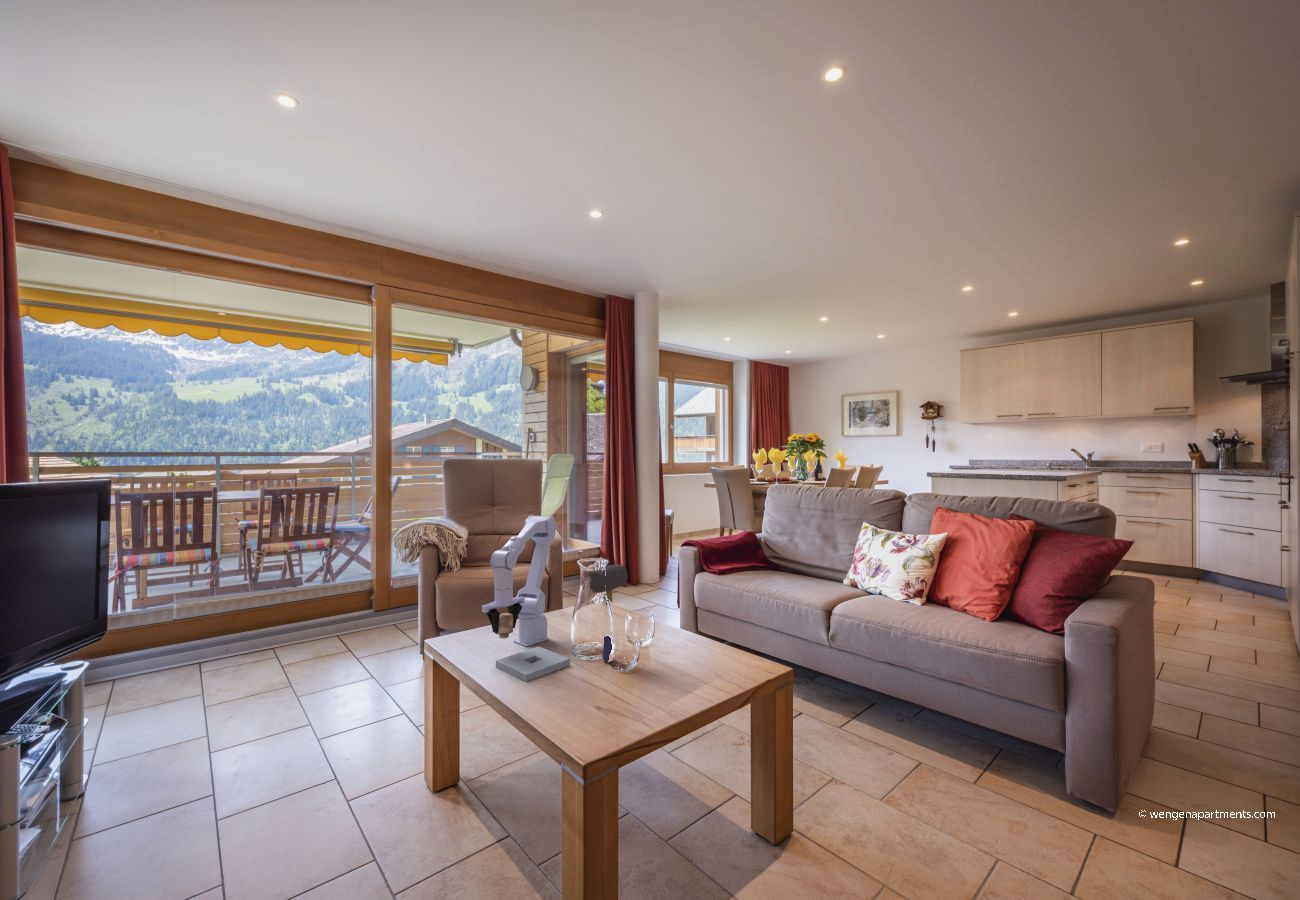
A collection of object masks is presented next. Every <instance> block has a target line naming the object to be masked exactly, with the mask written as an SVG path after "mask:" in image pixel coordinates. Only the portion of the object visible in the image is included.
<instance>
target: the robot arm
mask: <svg viewBox="0 0 1300 900" xmlns="http://www.w3.org/2000/svg"><path fill="white" fill-rule="evenodd" d="M557 525H558V524H557V521H556V518H555V517H554V516H552V515H550V516H544V515H533V514H530V515H529V516H528V517H527V518H526V519H525V523H524V526H523V528H522V529H521V530H520V532H519V533H518V535H515V536H511V537H510V538H509V540H507V542H506V543H505V544H504V546H502V548H500V549H498V550H496V551H494V552H493V553H492V554H491V557H490V560H489V564H490V567H491V569H492V573H493V575H494V582H493V584H494V587H493V588H494V601H491V602H489V603H486V604H482V605H481V612H482V613H484V614H486V616H487V618H488V620H489V622H490V626H491V629H492V632H493V633H494V634H496V633H498V630H499V616H500V614H501V612H499V611H498V610H500V609H503V608H507V610H508V612H507V613H510V614H513V629H516V625H517V620H518V638H515V639H513V642H514V643H517V644H519V645H522V646H524V647H530V646H533V645H536V644H539V643H542V642H546V641H548V640H549V637H548V619H547V617H546V615H545V614H544V612H545V609H546V594H545V592H543V590H541V587H542V586H541V585H542V582H543V578H544V573H545V569H546V565H547V561H548V557H549V552H550V548H551V545H552V542H553V541H554V540H555V537H556V531H557V528H558V526H557ZM530 539H531V540H533V541H534V542H535V547H534V551H533V554H532V559H531V563H530V566H529V571H528V575H527V579H526V583H525V586H523V587H522V588H520V589H519V590H518V591H517V594H516V596H515V597H514V592H513V591H514V583H513V582H514V580H513V579H514V578H513V577H514V576H513V575H514V573H513V571H514V570H513V569H514V568H515V566H516V564H517V561H518V558H519V556H520V555H521V553H523V551H524V550H525V549H526V543H527V542H528V541H529V540H530Z"/></svg>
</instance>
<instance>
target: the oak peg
mask: <svg viewBox="0 0 1300 900" xmlns="http://www.w3.org/2000/svg"><path fill="white" fill-rule="evenodd" d="M513 632H514V628H513V614H510V613H509V612H504V613H500V616H499V630H498V633H495V635H498V638H499V639H503V640H504V639H508V638H509V637H510V634H512V633H513Z"/></svg>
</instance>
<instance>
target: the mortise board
mask: <svg viewBox="0 0 1300 900" xmlns="http://www.w3.org/2000/svg"><path fill="white" fill-rule="evenodd" d="M569 666H570V658H569V657H567V656H564V655H561V654H559V653H556V652H554V651H551V650H550V649H549V650H548V649H546V648H544V647H541V646H535V647H533V648H530V649H526V650H524V651H523V650H522V651H521V652H520V651H519V652H517V653H514V654H511V655H507V656H506V657H505V656H504V657H502V658H499V659H497V660H495V668H496V669H499V670H501V671H503V672H505V673H507V674H510V675H511V676H513V677H516V678H518V679H520V680H522V681H524V682H529V681H531V680H534V679H538V678H540V677H542V676H544V675H548V674H550V673H553V672H556V671H558V670H560V669H563V668H566V667H569Z"/></svg>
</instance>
